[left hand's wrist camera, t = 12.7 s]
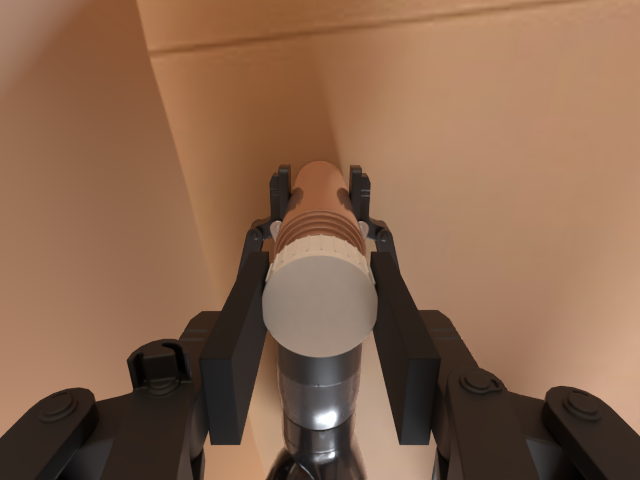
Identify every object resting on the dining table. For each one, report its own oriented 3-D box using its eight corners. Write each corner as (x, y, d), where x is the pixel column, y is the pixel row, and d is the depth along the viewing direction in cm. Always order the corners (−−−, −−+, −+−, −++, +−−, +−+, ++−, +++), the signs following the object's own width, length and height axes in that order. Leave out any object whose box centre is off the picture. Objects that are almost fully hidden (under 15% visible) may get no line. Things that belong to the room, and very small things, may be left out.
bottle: (321, 218, 34) (324, 374, 14) (285, 187, 33) (233, 307, 13) (354, 183, 33) (407, 299, 13) (318, 149, 32) (314, 220, 12)
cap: (331, 343, 16) (333, 377, 14) (247, 294, 15) (236, 322, 13) (393, 271, 15) (405, 296, 13) (305, 212, 14) (303, 229, 12)
